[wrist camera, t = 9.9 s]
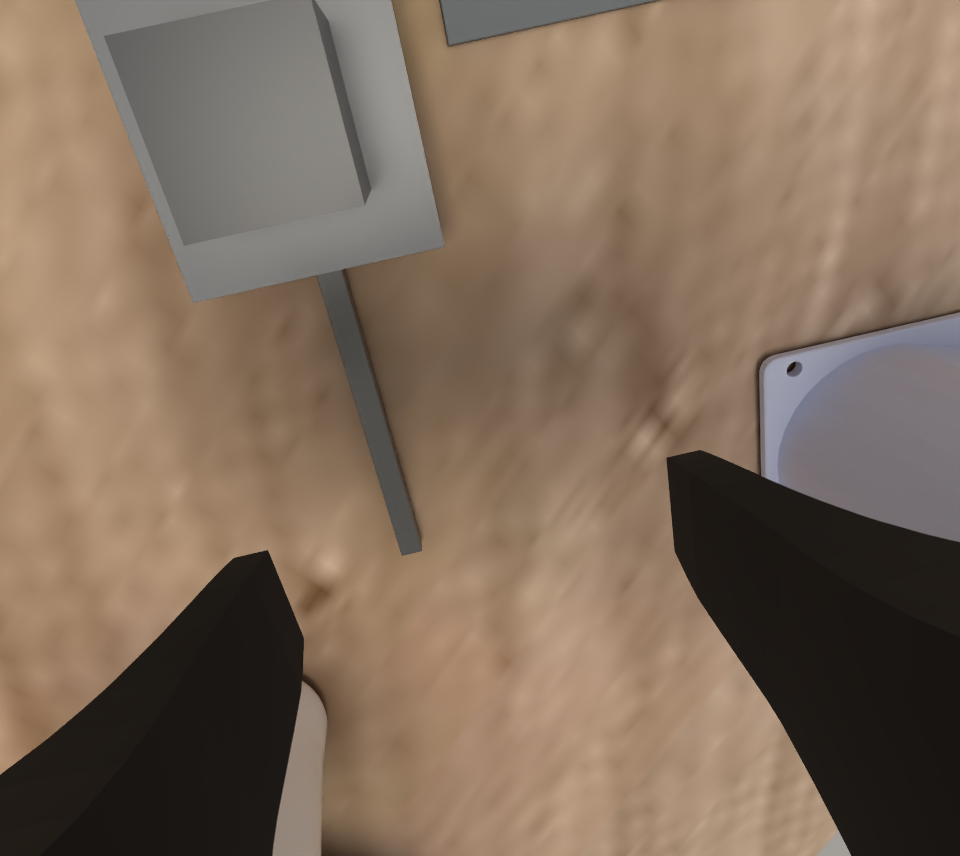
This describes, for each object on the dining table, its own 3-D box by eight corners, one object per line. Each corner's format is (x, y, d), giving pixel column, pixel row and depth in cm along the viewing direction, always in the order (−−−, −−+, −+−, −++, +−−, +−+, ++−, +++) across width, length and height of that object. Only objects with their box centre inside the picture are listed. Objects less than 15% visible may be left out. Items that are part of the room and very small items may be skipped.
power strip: (186, -924, 11) (-9, -1899, 6) (502, 520, 23) (533, 637, 18) (-204, -852, 11) (-774, -1776, 6) (320, 562, 23) (297, 693, 18)
